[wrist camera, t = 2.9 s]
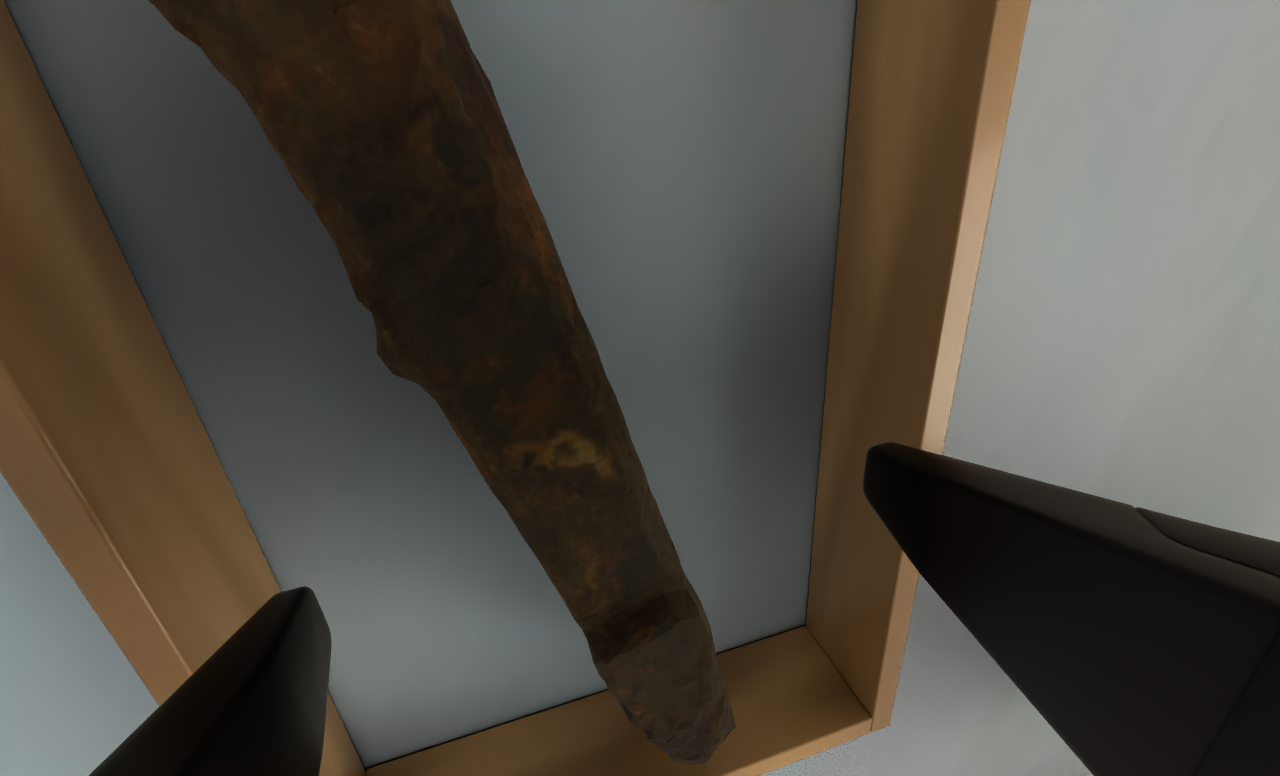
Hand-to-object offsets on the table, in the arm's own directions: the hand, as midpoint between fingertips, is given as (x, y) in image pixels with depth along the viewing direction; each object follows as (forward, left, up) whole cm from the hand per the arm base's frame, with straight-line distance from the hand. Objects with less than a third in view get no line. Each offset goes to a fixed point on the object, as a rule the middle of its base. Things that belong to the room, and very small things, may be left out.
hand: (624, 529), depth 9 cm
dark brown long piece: (0, 0, -5) cm, 5 cm away
